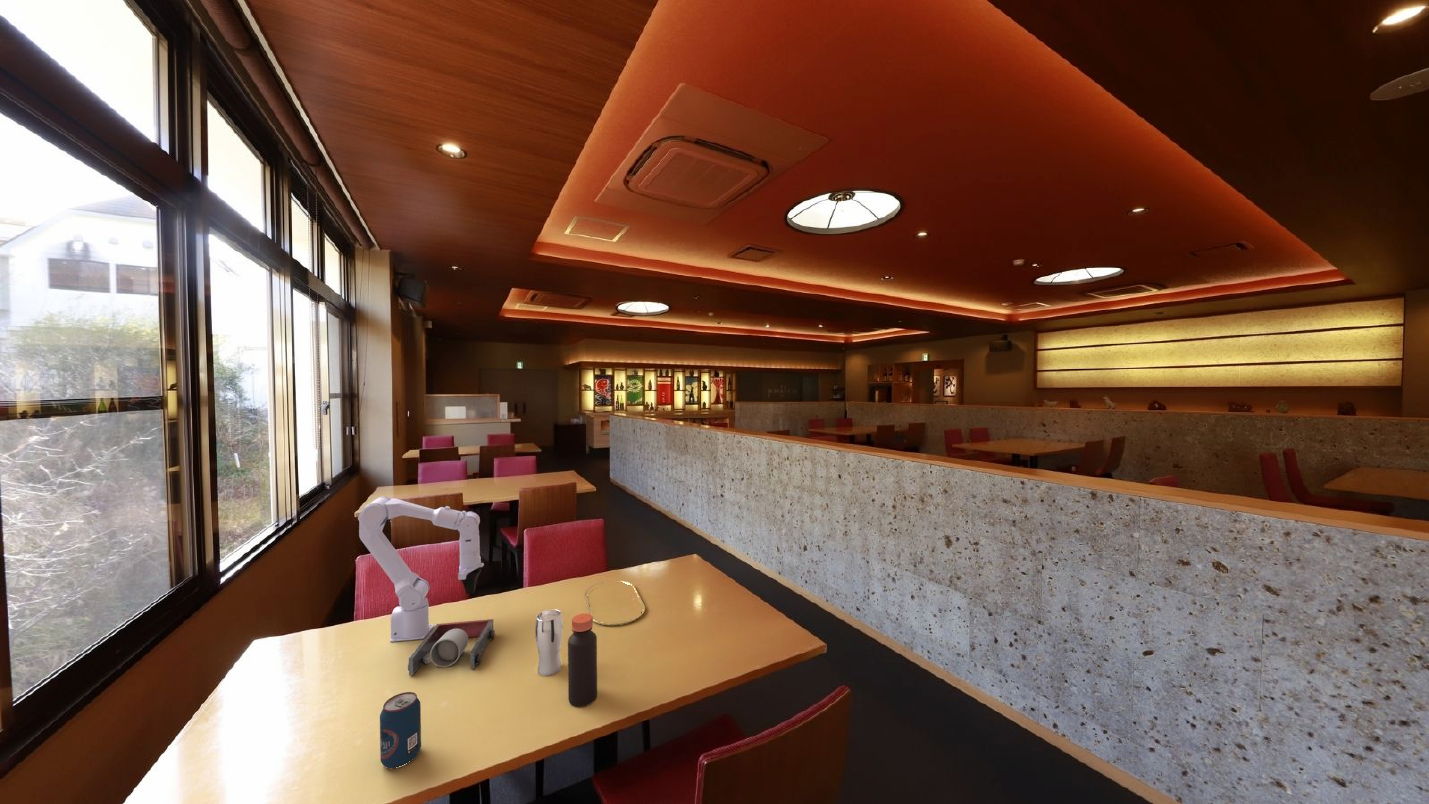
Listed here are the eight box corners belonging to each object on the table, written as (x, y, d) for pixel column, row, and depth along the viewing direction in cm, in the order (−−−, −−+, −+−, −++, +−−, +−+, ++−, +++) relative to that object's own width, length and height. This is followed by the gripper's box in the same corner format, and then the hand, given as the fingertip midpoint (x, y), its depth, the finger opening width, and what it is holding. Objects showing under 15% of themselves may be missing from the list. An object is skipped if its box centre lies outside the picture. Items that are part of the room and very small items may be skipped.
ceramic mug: (470, 649, 135) (469, 623, 135) (460, 665, 127) (459, 638, 127) (430, 654, 133) (429, 627, 133) (417, 671, 125) (416, 643, 125)
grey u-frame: (405, 675, 122) (405, 659, 122) (434, 638, 140) (434, 624, 140) (477, 668, 125) (477, 651, 125) (496, 633, 143) (496, 618, 143)
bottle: (573, 689, 117) (573, 611, 116) (600, 689, 117) (599, 611, 116) (564, 707, 110) (563, 624, 110) (592, 708, 110) (591, 625, 109)
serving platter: (592, 633, 145) (592, 628, 145) (581, 588, 177) (581, 584, 177) (650, 622, 152) (650, 617, 152) (630, 581, 184) (630, 577, 184)
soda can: (372, 766, 93) (371, 707, 93) (406, 741, 99) (405, 686, 99) (396, 776, 90) (395, 716, 90) (429, 750, 97) (428, 694, 97)
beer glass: (557, 677, 122) (557, 621, 121) (531, 677, 122) (530, 621, 121) (566, 661, 129) (566, 608, 128) (541, 661, 129) (541, 608, 128)
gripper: (475, 558, 142) (476, 602, 142) (490, 543, 156) (490, 582, 157) (450, 560, 141) (451, 604, 141) (467, 544, 155) (468, 584, 155)
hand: (470, 593), depth 149 cm, fingers closed
